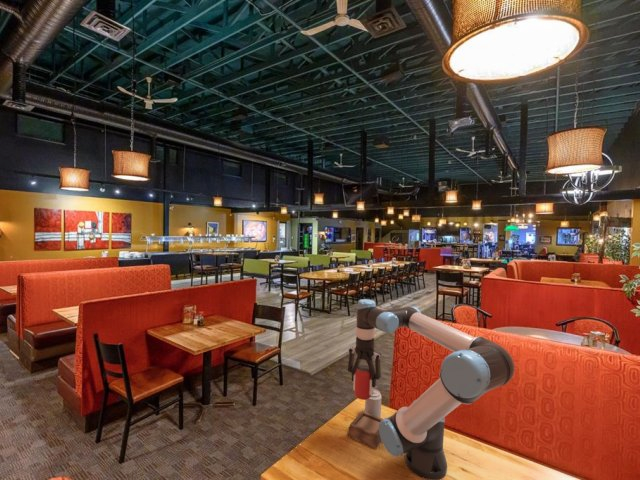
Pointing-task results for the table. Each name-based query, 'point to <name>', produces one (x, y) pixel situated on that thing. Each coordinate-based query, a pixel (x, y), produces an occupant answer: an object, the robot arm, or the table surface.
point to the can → (374, 404)
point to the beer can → (362, 382)
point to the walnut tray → (366, 429)
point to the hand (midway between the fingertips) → (363, 391)
